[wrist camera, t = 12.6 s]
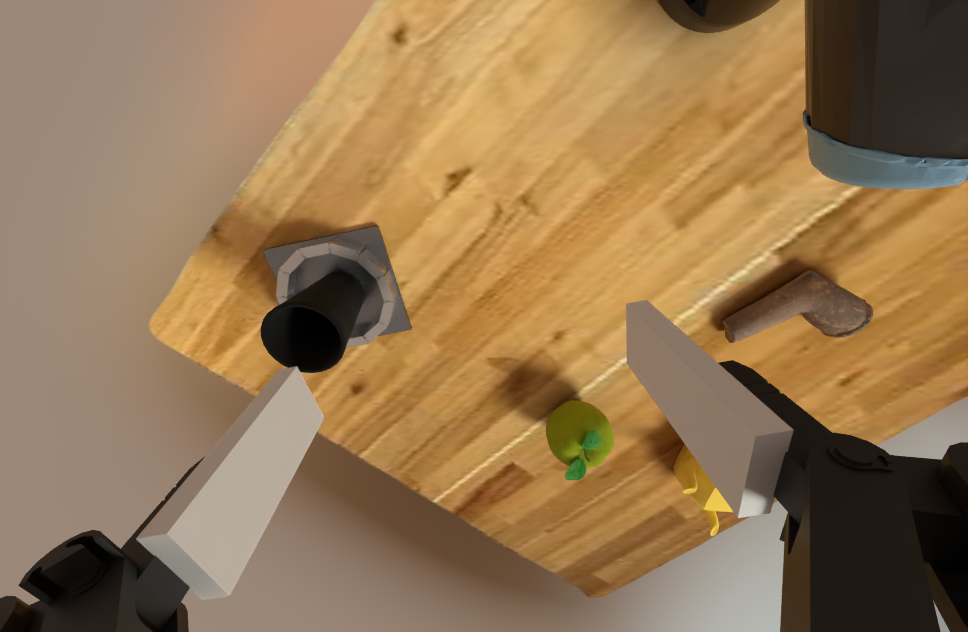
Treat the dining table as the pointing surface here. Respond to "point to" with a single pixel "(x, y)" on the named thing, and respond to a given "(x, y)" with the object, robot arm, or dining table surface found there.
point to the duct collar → (356, 257)
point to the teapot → (700, 487)
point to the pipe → (803, 309)
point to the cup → (314, 323)
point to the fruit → (579, 437)
